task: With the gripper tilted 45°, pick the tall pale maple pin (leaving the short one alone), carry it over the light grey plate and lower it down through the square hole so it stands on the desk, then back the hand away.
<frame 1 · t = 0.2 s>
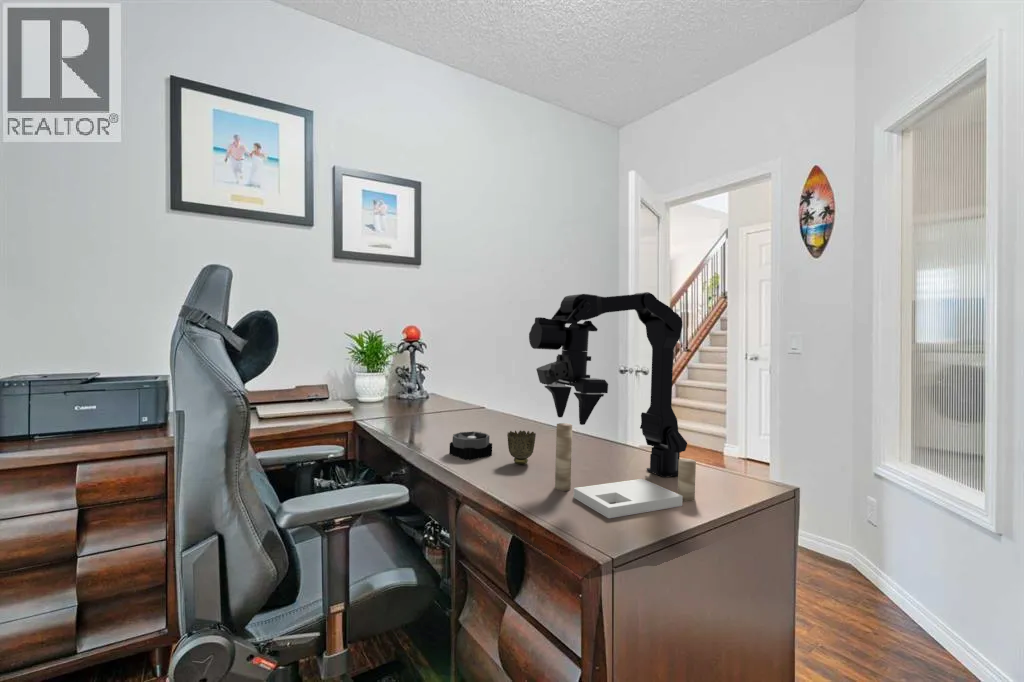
hand: (570, 420, 107), 15 cm above the table, fingers open, 9 cm apart
hole plate: (627, 501, 98), on the table
long pin: (562, 488, 106), on the table
cpu cooler: (470, 456, 133), on the table
short pin: (686, 498, 101), on the table
cup: (520, 464, 125), on the table
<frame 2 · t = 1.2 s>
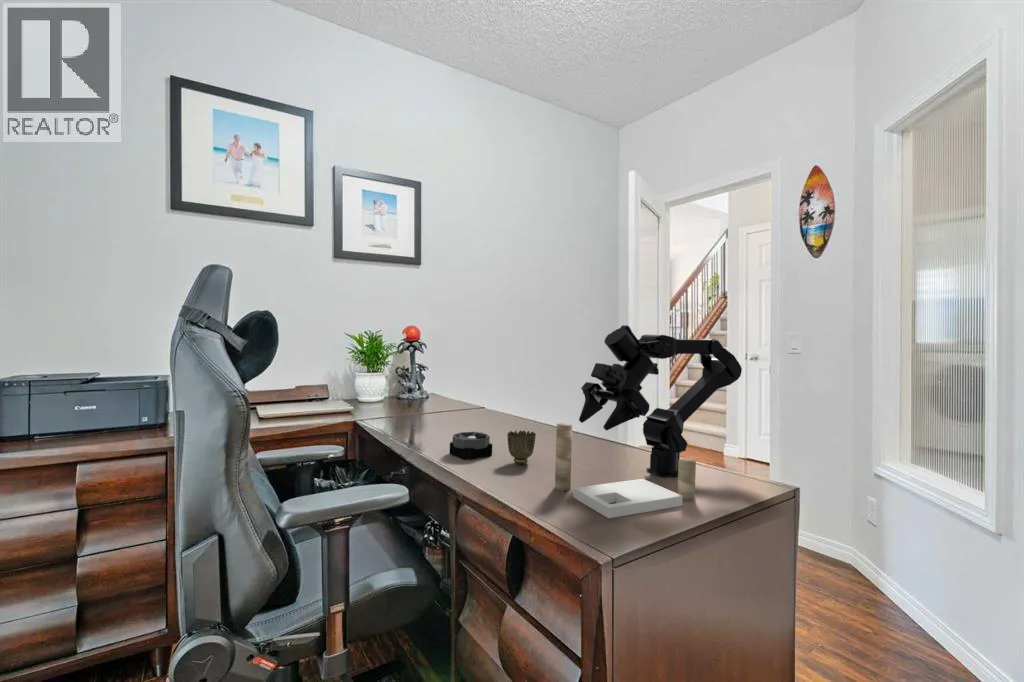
hand: (592, 425, 109), 13 cm above the table, fingers open, 9 cm apart
nothing on the table moved.
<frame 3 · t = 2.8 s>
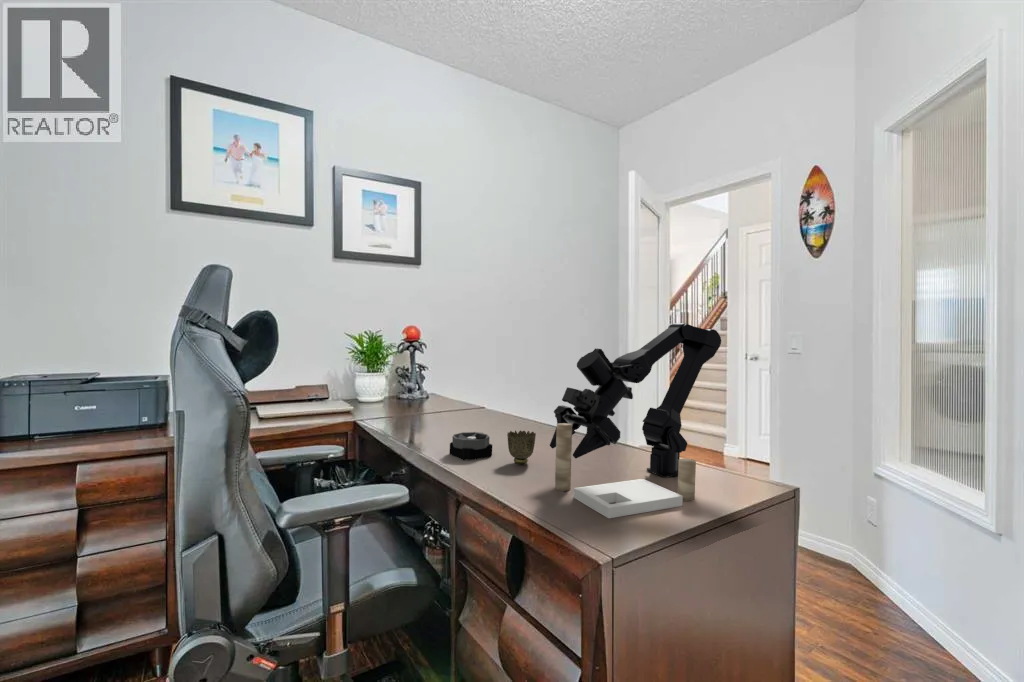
hand: (562, 451, 105), 8 cm above the table, fingers open, 9 cm apart
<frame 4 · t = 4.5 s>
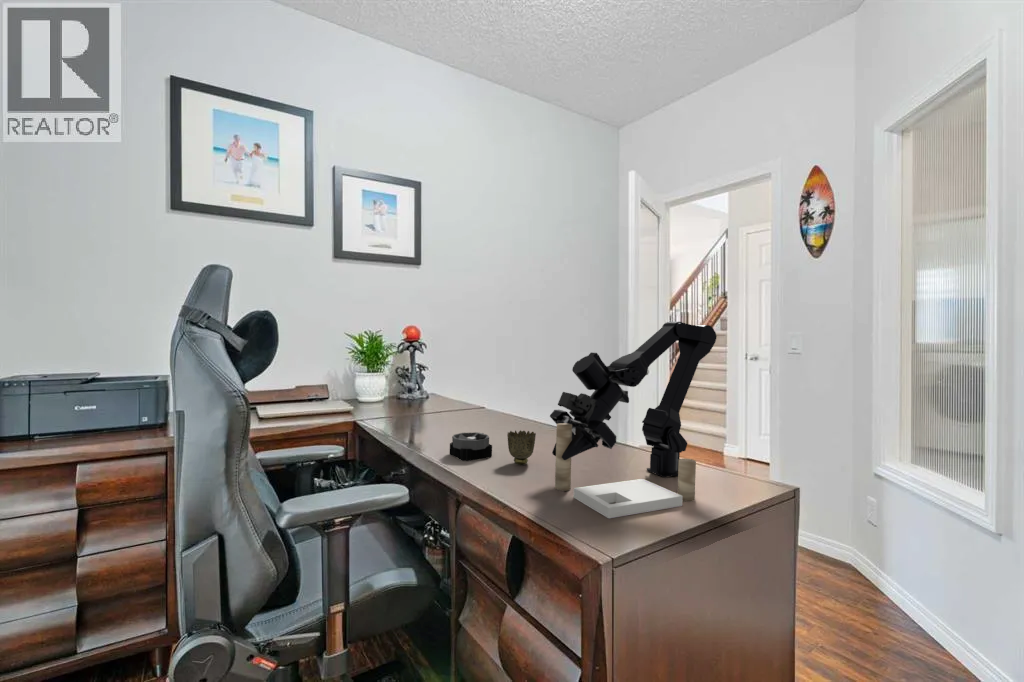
hand: (558, 456, 105), 7 cm above the table, fingers closed on long pin, 3 cm apart
long pin: (562, 488, 106), on the table, touching gripper
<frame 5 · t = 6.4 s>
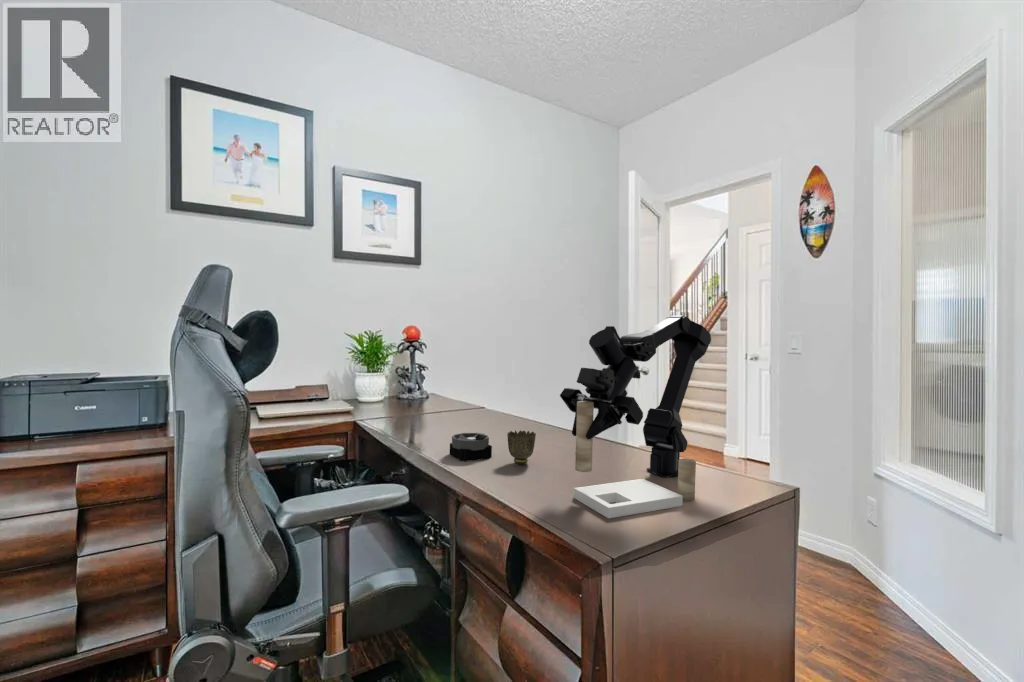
hand: (580, 436, 98), 13 cm above the table, fingers closed on long pin, 3 cm apart
long pin: (583, 469, 99), point 6 cm above the table, touching gripper
when the fingers open (7 cm above the table, at t = 8.6 s): long pin stays where it is, resting in hole plate.
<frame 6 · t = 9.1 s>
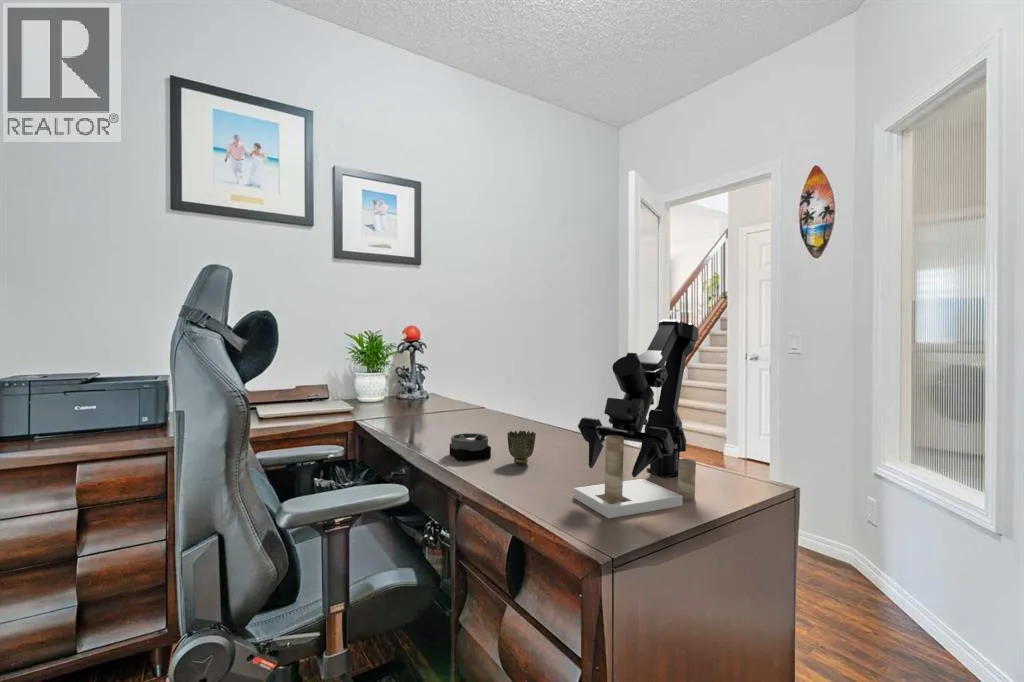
hand: (611, 471, 93), 8 cm above the table, fingers open, 9 cm apart
long pin: (613, 508, 94), resting in hole plate
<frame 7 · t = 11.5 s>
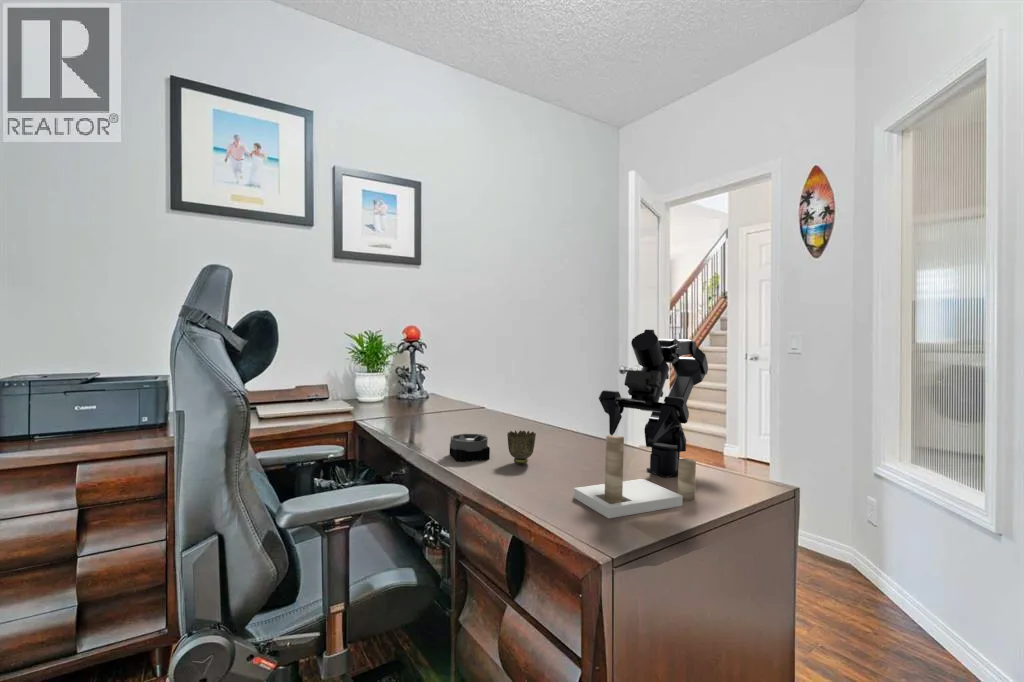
hand: (631, 437, 101), 13 cm above the table, fingers open, 9 cm apart
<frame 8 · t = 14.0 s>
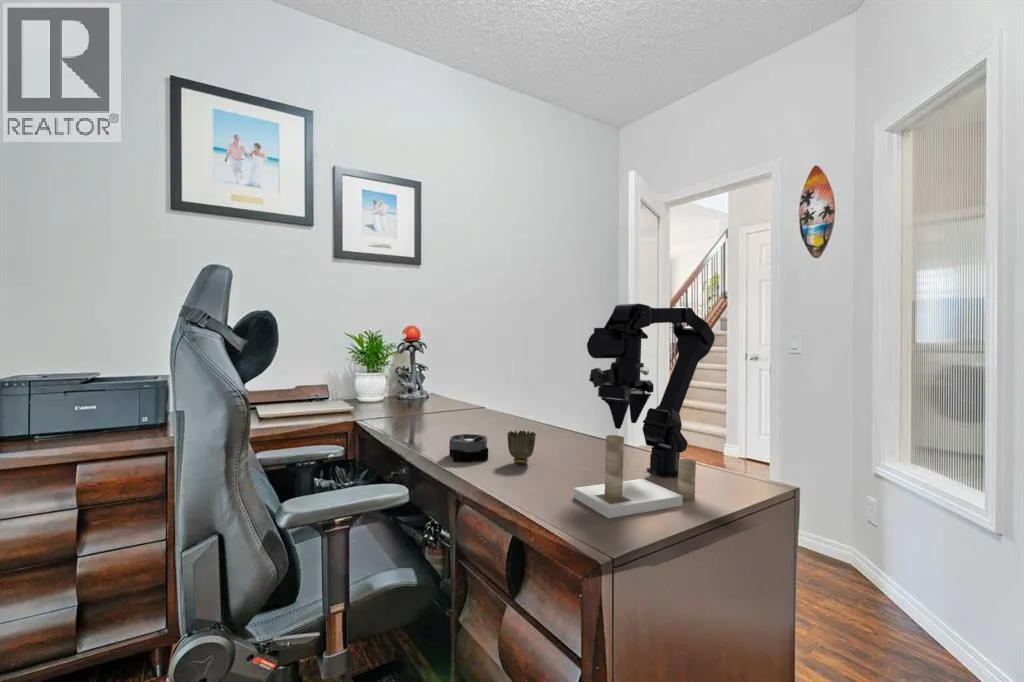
hand: (626, 425, 111), 13 cm above the table, fingers open, 9 cm apart
at the end: long pin 0.0 cm from the target spot on the hole plate, point 0.0 cm above the hole plate's base; long pin tilted 0°; the gripper is holding nothing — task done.
